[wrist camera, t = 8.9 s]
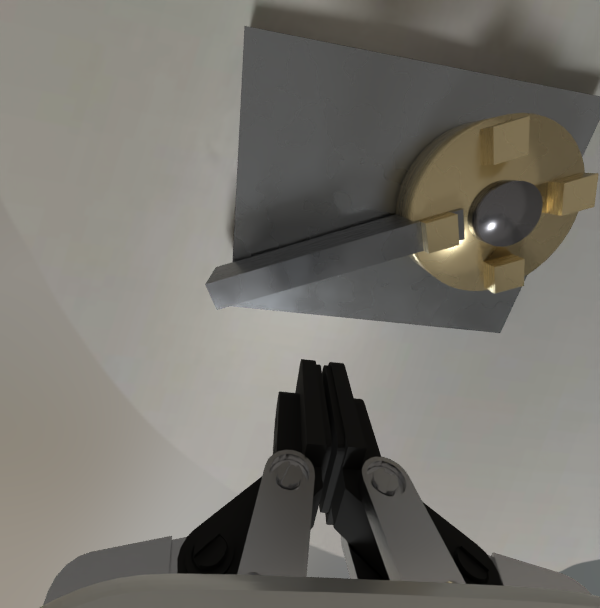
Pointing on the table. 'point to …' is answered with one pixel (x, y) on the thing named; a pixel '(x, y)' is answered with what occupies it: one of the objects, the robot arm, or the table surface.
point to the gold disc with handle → (448, 215)
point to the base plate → (363, 165)
